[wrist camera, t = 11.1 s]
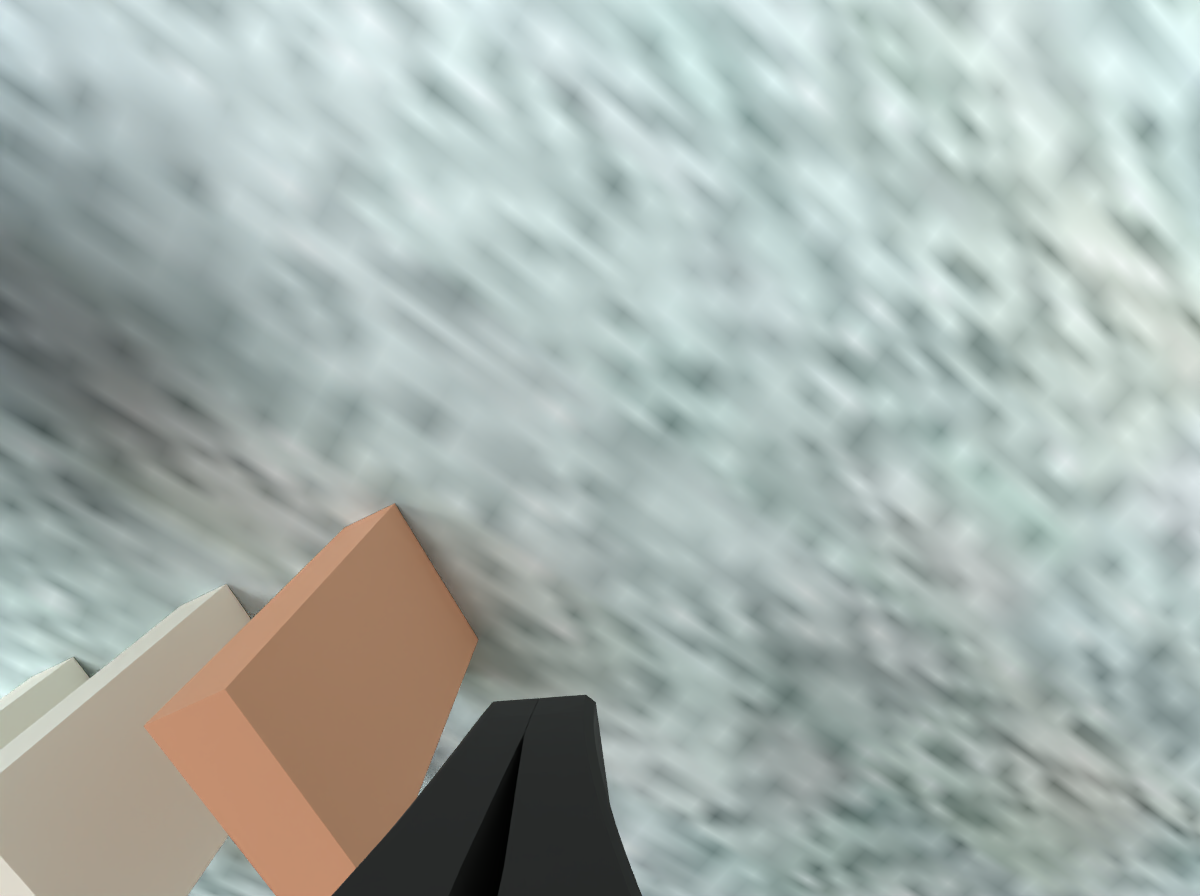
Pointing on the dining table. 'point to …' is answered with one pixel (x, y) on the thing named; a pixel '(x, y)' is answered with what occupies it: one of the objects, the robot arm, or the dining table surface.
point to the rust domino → (324, 708)
